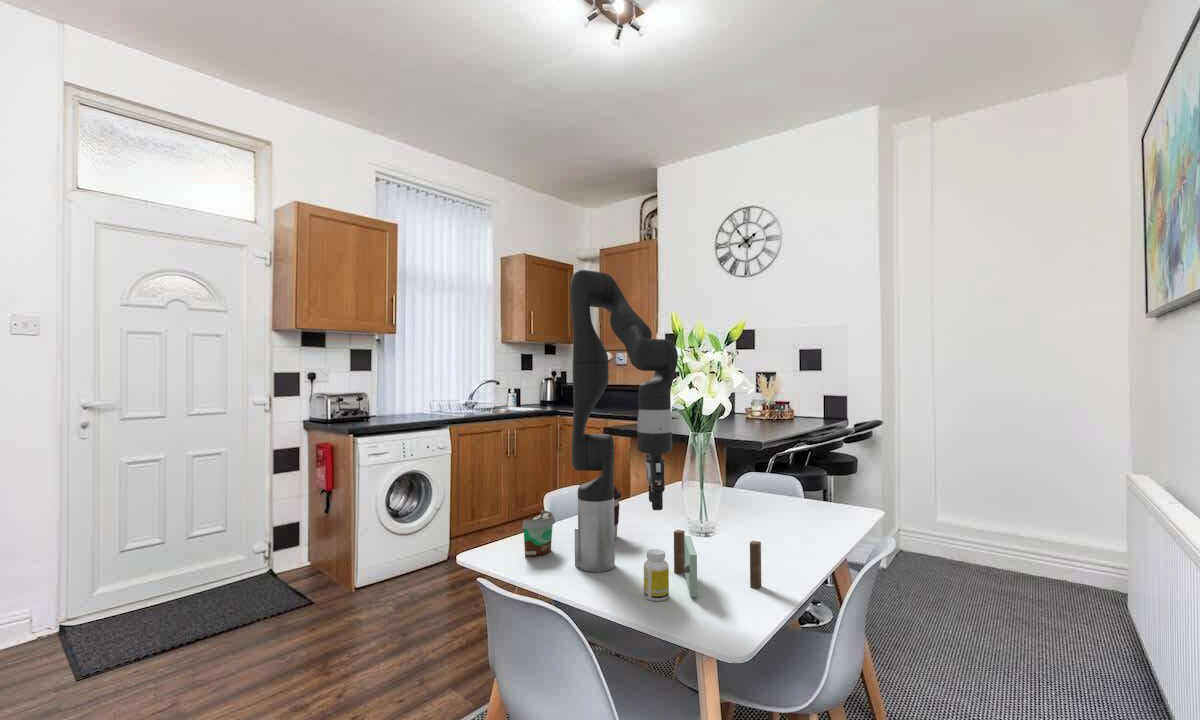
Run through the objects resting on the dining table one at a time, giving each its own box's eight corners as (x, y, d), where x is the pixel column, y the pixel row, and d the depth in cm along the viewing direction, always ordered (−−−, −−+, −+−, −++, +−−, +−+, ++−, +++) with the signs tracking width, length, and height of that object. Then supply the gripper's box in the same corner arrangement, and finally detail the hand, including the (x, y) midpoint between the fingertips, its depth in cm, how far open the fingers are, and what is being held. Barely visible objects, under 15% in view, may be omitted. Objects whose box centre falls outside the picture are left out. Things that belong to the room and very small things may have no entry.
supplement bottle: (673, 596, 121) (673, 551, 121) (659, 604, 116) (658, 557, 117) (653, 589, 124) (653, 546, 124) (638, 597, 120) (638, 552, 120)
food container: (543, 561, 143) (543, 522, 144) (522, 559, 145) (522, 520, 146) (562, 547, 155) (562, 511, 155) (542, 544, 157) (542, 509, 157)
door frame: (674, 573, 134) (673, 531, 135) (677, 570, 136) (676, 529, 136) (759, 588, 124) (758, 544, 124) (761, 585, 126) (760, 541, 126)
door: (679, 573, 133) (679, 535, 133) (690, 573, 133) (690, 535, 133) (685, 596, 119) (684, 554, 119) (697, 597, 119) (696, 555, 119)
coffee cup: (602, 530, 170) (601, 481, 171) (628, 536, 164) (627, 486, 164) (581, 538, 163) (580, 487, 163) (607, 544, 157) (606, 491, 157)
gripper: (676, 433, 114) (677, 514, 114) (667, 426, 128) (668, 498, 128) (640, 433, 114) (640, 514, 114) (635, 426, 128) (636, 498, 128)
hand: (655, 505), depth 121 cm, fingers open, 7 cm apart
